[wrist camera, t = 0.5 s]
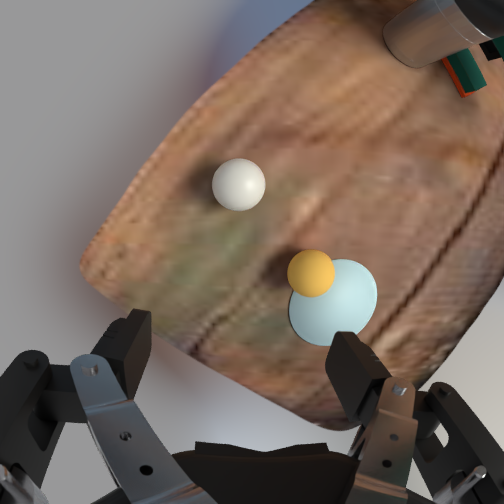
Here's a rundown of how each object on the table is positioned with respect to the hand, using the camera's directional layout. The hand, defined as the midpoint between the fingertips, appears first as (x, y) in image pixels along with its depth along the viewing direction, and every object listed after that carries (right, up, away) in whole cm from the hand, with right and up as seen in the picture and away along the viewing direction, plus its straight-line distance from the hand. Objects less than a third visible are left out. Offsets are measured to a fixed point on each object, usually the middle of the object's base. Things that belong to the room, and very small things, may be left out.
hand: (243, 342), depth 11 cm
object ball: (+8, +1, +23) cm, 25 cm away
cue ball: (-1, +11, +20) cm, 23 cm away
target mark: (+13, -4, +28) cm, 31 cm away
